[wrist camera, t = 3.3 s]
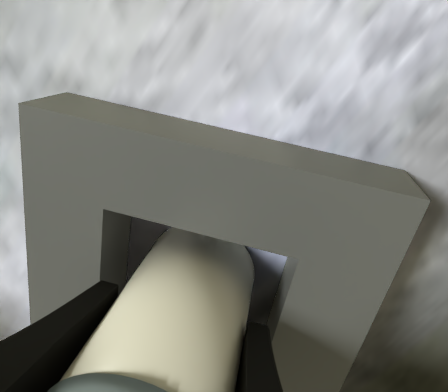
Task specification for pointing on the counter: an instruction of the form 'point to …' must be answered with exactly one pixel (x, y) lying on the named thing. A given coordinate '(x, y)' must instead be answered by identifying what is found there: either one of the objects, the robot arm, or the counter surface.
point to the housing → (216, 218)
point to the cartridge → (172, 322)
